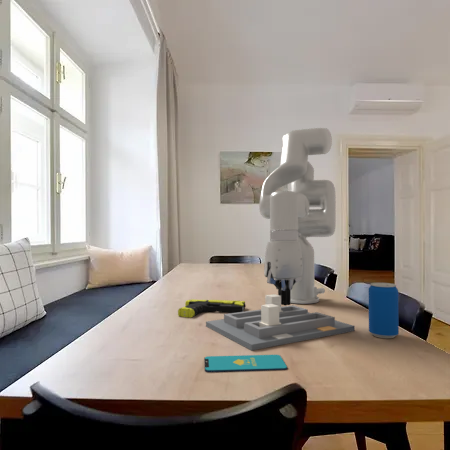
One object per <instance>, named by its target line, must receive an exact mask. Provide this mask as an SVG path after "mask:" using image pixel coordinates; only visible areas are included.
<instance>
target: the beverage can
mask: <svg viewBox="0 0 450 450" xmlns="http://www.w3.org/2000/svg"><path fill="white" fill-rule="evenodd" d="M369 284H370V285H369V287H368V332H369V333H371V335H372V336H374V337H377V338H380V339H393V338H395V337H396V336H398V335H399V334H400V333H399V330H400V328H399V327H400V326H399V325H400V323H399V322H400V321H399V320H400V319H399V290H398V288H397V284H395V283H390V282H371V283H369Z"/></svg>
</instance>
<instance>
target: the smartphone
mask: <svg viewBox="0 0 450 450" xmlns="http://www.w3.org/2000/svg"><path fill="white" fill-rule="evenodd" d="M203 361H204V372H205V373H233V372H234V373H235V372H260V371H261V372H263V371H264V372H265V371H267V372H268V371H286V370H288V366H287V364H286V362H285V360H284V359H283V357H282V356H281V355H280V354H250V355H249V354H248V355H247V354H246V355H243V354H242V355H212V356H211V355H209V356H207V355H206V356H205V357H204V360H203Z"/></svg>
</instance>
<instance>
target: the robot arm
mask: <svg viewBox="0 0 450 450" xmlns="http://www.w3.org/2000/svg"><path fill="white" fill-rule="evenodd" d="M332 145H333V138H332V133H331V131H330V130H329V129H328V128H326V127H313V128H304V129H303V128H302V129H295V130H290V131H289V132H287V133H285V134H284V135H283V136H282V138H281V147H282V149H281V154H280V161H279V166H278V167H277V168H275V169H274V170H272V172H270V174H269V175H268V176H267V177H266V179H265V180H264V182H263V183H262V186H261V191H260V197H259V205H258V206H259V209H258V210H259V213H260V215H261V217H262V218H264V219H265V220H266V219H267V220H269V227H270V228H269V230H270V231H269V239H270V240H269V241H267V243H266V247H265V253H264V254H265V255H264V269H263V270H264V271H263V274H264V277H265V278H267V280H266V282H267V284H269V285H273V286H275V288H276V290H277V295H279V296H281V306H291V304H298V305H299V304H300V305H301V304H303V305H305V304H306V305H307V304H308V305H309V304H316V303H318V302H320V297H319V296H318V295H320V294H324V293H326V290H325V288H324V287H319V288H318V287H316V286H315V250H314V247H313V246H312V244H311V243H310V242H309V240H308V238H329V237H331V236H333V235H334V234H335V232H336V221H337V220H336V218H337V217H336V216H337V215H336V212H337V210H336V207H337V206H336V203H337V200H336V198H337V197H336V188H335V185H334V183H333V181H331V180H328V179H314V177H315V176H314V175H315V170H314V169H315V168H314V166H313V165H312V163H311V162H310V161H309V160H308V159H309V156H315V155H316V156H317V155H318V156H319V155H326V154H327V153H329V152H330V151H331V149H332ZM287 185H289V189H288V190H279V189H280V188H282V187H284V186H287ZM310 208H313V209H310ZM314 208H317V209H314ZM320 208H321V209H320Z"/></svg>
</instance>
